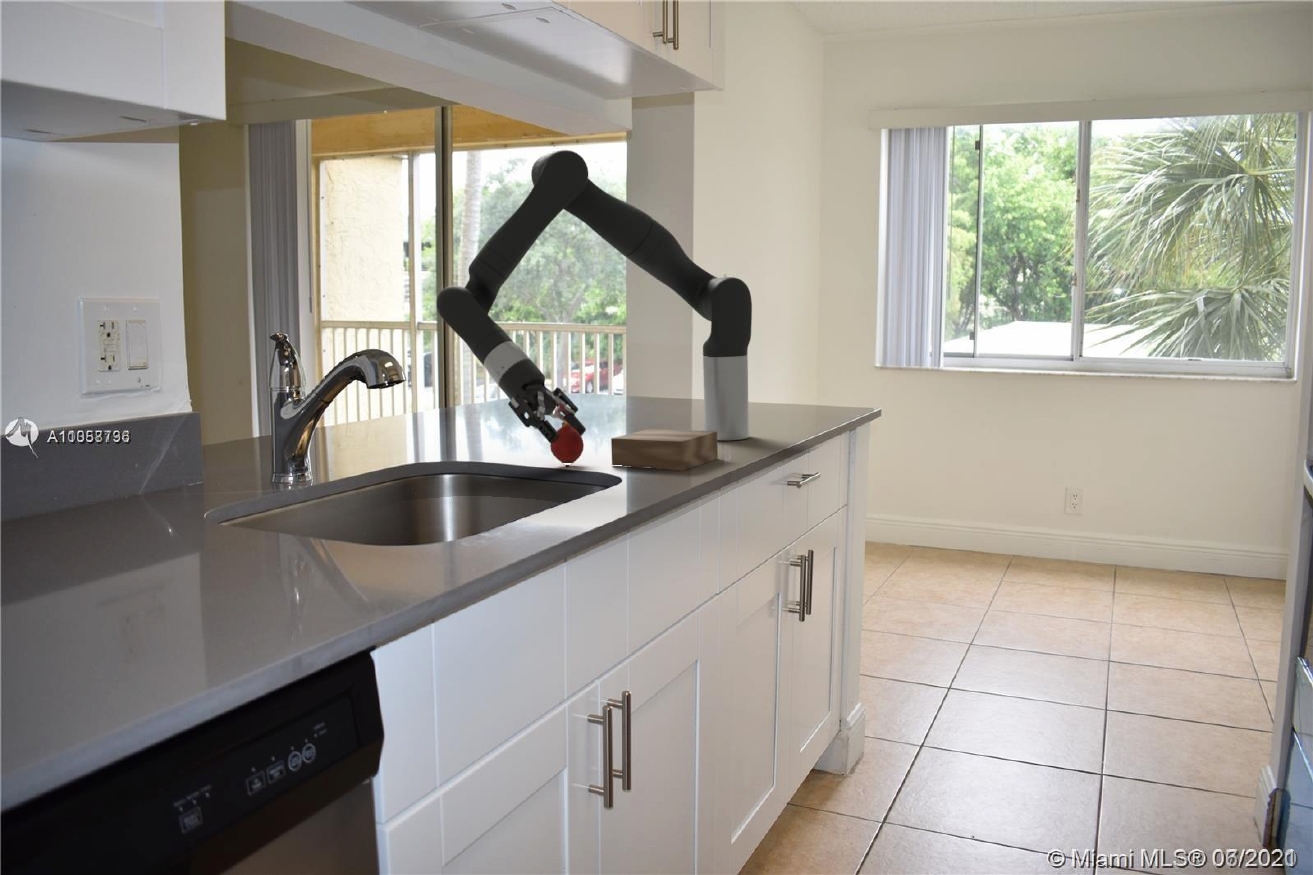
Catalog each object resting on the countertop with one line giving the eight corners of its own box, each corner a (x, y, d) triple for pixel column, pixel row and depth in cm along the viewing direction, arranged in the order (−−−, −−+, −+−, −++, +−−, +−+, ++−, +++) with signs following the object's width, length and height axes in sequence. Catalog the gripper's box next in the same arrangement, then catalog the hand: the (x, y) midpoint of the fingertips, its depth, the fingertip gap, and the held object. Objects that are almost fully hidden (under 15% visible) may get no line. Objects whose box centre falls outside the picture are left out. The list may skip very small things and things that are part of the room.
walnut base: (650, 455, 188) (649, 428, 188) (717, 458, 182) (717, 431, 181) (612, 466, 176) (611, 438, 175) (682, 470, 169) (682, 441, 169)
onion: (572, 462, 182) (570, 418, 181) (590, 465, 178) (588, 421, 177) (545, 466, 179) (543, 421, 178) (563, 469, 174) (561, 424, 173)
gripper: (501, 359, 173) (558, 427, 169) (548, 355, 186) (602, 418, 182) (478, 389, 177) (534, 456, 173) (526, 383, 189) (579, 445, 185)
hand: (569, 436), depth 177 cm, fingers open, 8 cm apart
